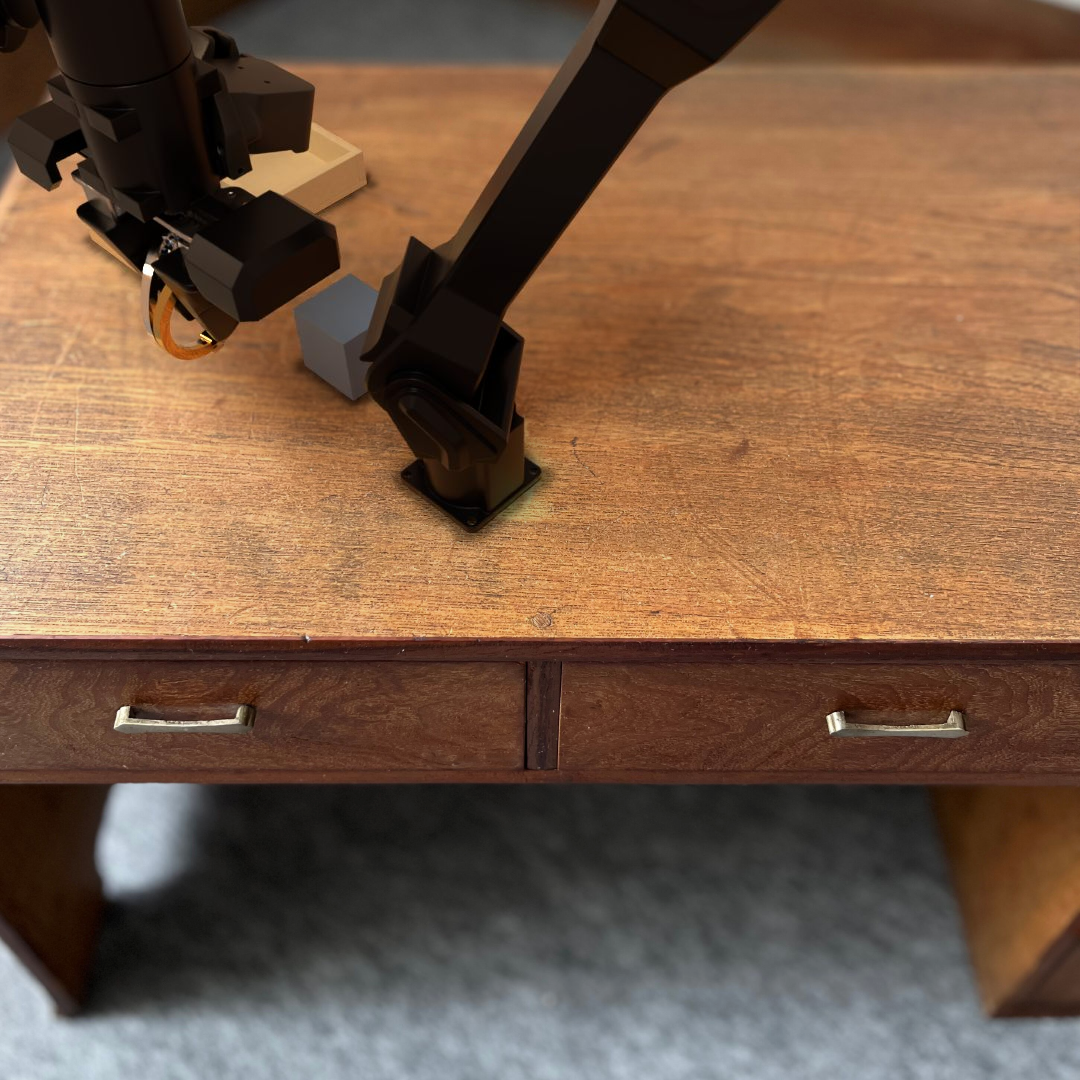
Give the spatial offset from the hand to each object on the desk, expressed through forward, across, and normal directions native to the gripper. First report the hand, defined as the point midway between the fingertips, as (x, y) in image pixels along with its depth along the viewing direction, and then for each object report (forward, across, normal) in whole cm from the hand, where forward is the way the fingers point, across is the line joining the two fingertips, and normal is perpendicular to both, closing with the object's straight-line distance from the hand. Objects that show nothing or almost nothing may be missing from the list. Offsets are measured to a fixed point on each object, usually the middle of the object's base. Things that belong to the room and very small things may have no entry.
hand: (209, 326), depth 59 cm
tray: (+11, +21, -16) cm, 29 cm away
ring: (+2, 0, 0) cm, 2 cm away
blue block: (+11, +1, -10) cm, 15 cm away
